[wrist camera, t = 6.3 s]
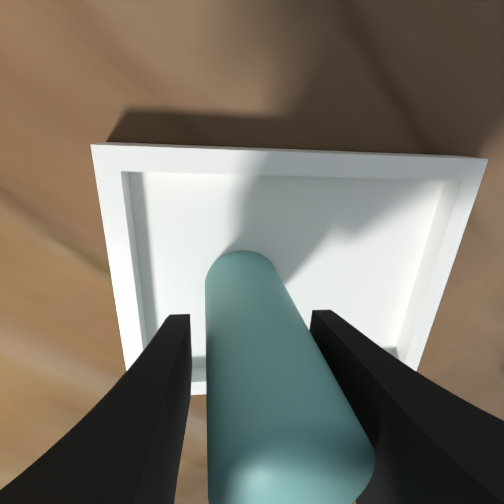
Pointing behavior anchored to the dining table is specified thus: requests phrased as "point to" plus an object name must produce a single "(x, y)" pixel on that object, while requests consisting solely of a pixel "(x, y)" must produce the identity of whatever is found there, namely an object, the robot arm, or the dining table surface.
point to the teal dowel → (273, 397)
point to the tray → (283, 234)
